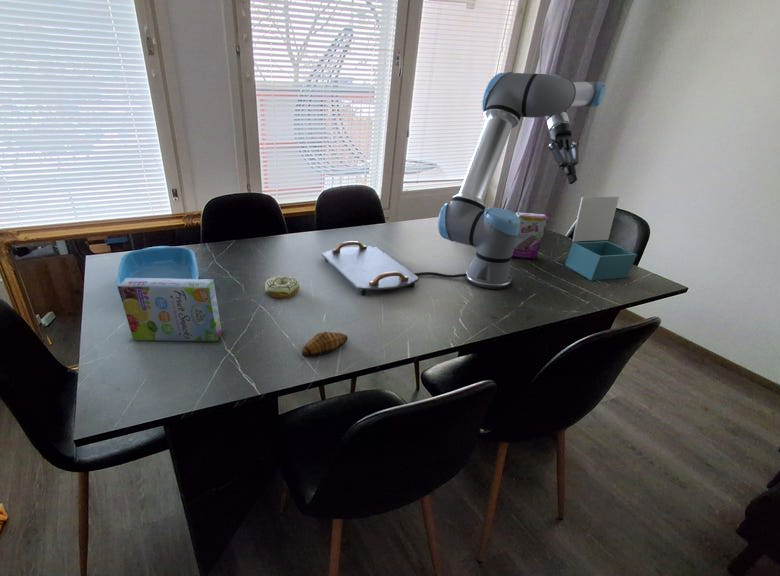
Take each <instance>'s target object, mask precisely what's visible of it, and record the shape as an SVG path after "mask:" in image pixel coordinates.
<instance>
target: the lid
mask: <svg viewBox="0 0 780 576" xmlns="http://www.w3.org/2000/svg"><path fill="white" fill-rule="evenodd" d="M619 198H620V196H584V197H583V196H582V197H581V198H580V203H579V208H578V211H577V217H576V221H575V226H574V231H573V235H572V240H571V241H572V243H578V242H598V241H609V239H610V234H611V230H612V226H613V223H614V219H615V214H616V210H617V207H618V202H619Z"/></svg>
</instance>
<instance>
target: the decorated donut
mask: <svg viewBox="0 0 780 576" xmlns="http://www.w3.org/2000/svg"><path fill="white" fill-rule="evenodd" d="M299 288H300V282H299V280H298V279H297V278H294V277H292V276H285V275H278V276H273V277H270V278H268V279H267V280H266V282H264V291H265V293H267V294H269V296H271V297H272V298H277V299H286V298H291V297H293V296H294V295H296V294H297V293H298V291H299Z"/></svg>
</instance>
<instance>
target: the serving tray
mask: <svg viewBox="0 0 780 576" xmlns="http://www.w3.org/2000/svg"><path fill="white" fill-rule="evenodd" d="M321 257H323V259H324V260H325V262H328V263H329V264H330V265H331V266H332V267H333V268H334V269H336V271H337V272H339V273H340V274H341V275H342V276H343V277H344V278H345V279H346V280H347V281H348V282H349V283H350V284H351V285H353V286H354V288H356V289H357V290H360V291H359V293H360V295H361V296H366V295H367V293H368V291H383V290H393V289H399V288H403V287H407V286H409V288H414V287H415V286H416V283H417V282H418V281H420V278H419V276H416V275H414V274H413V273H414V272H411V271H410V270H409V269H408V268H406V267H405V266H403V265H402V264H400V262H398V261H397V260H395V258H392V257H391V256H390V255H388V254H387V253H385V252H384V251H382V250H381V249H379V248H378V247H376V246H373V245H372V246H371V245H370V246H369V245H368V246H367V245H363V244H362V243H361V242H359V241H355V240H349V241H343V242H341V243H339V244H338V245H337V246H336V247H335V248H333V249H330V250H327V251H323V252H322V253H321Z"/></svg>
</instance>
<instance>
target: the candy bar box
mask: <svg viewBox="0 0 780 576" xmlns="http://www.w3.org/2000/svg"><path fill="white" fill-rule="evenodd" d="M515 214H516V215H517V216H518V217H519V218H520V227H519V234H518V236H517V239H516V243H515V247H514V250H513V254H512V258H519V259H531V260H536V258H537V255H538V252H539V250H540V247H541V243H542V240H543V237H544V234H545V231H546V227H547V224H548V221H549V216H547V214H543V213H532V212H520V211H519V212H518V211H517V212H515Z"/></svg>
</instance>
